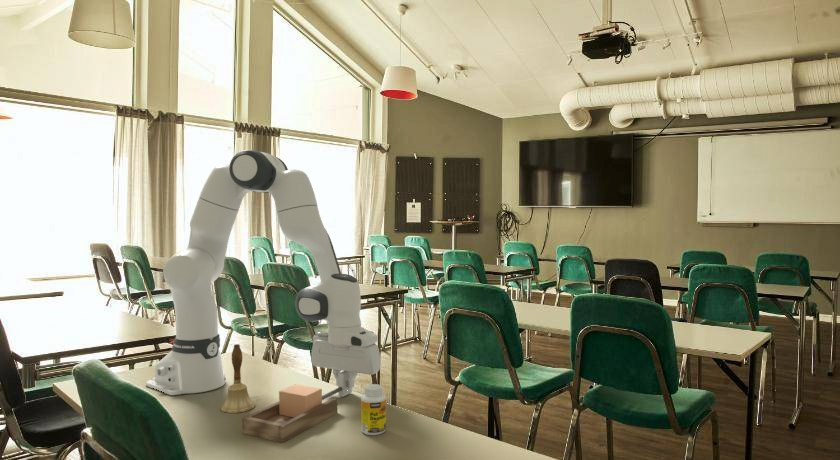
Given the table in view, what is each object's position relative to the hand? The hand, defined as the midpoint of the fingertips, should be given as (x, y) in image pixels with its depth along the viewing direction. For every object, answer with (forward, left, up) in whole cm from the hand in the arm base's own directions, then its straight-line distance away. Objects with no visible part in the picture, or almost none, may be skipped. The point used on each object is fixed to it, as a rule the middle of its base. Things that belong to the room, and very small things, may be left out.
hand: (345, 386), depth 155 cm
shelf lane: (0, -22, -2) cm, 22 cm away
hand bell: (-19, -20, -3) cm, 28 cm away
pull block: (0, -10, -2) cm, 10 cm away
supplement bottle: (+20, -18, -3) cm, 27 cm away
